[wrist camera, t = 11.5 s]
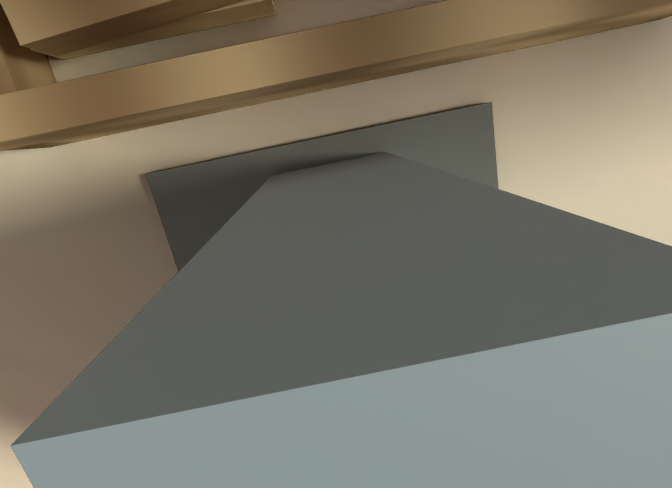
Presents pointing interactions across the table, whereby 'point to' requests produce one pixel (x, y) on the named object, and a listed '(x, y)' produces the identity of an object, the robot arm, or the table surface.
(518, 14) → the wooden frame
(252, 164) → the mat
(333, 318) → the rectangular block
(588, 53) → the table surface
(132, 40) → the offcut stack
